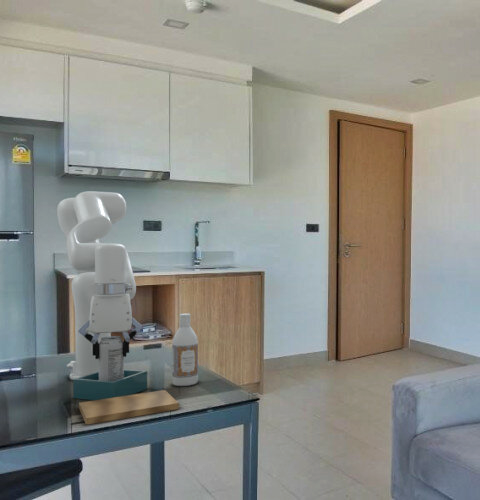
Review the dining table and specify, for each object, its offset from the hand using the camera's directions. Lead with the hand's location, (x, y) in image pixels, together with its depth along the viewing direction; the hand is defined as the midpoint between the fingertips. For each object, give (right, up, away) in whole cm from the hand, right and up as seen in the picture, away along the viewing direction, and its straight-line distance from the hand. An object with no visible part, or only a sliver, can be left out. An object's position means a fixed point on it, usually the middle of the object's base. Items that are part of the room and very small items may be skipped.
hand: (111, 356), depth 143 cm
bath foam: (+16, -10, +10) cm, 22 cm away
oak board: (+11, -10, -13) cm, 20 cm away
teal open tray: (0, -10, 0) cm, 10 cm away
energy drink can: (0, -10, 0) cm, 10 cm away
